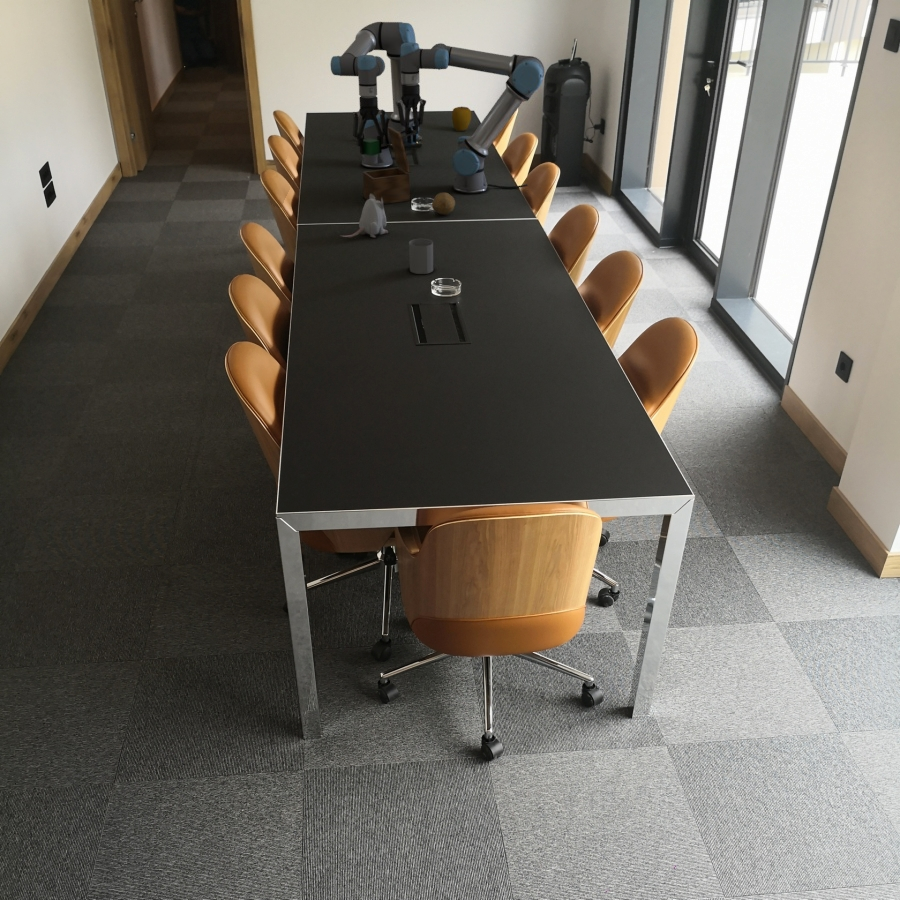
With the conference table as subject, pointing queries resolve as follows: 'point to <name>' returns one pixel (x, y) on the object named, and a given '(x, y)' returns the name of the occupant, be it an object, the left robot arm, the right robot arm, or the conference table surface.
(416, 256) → the cup
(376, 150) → the block
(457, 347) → the conference table surface
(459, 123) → the yellow bell pepper
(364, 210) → the toy
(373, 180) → the chest
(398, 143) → the lid
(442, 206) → the potato
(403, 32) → the left robot arm
